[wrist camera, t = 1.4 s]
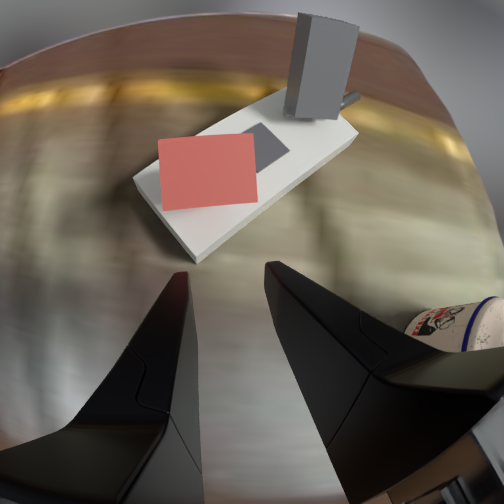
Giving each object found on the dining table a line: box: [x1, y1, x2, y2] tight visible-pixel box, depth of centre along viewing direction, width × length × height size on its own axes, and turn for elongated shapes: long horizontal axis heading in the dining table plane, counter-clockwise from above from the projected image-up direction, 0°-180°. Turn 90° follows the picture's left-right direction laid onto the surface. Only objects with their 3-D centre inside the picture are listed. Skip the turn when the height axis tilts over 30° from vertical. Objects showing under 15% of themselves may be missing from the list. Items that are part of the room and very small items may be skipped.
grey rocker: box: [283, 13, 359, 120], centre depth 20 cm, size 3×5×10 cm, turn 99°
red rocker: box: [158, 133, 258, 211], centre depth 16 cm, size 3×5×10 cm, turn 99°
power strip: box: [133, 87, 360, 264], centre depth 25 cm, size 25×8×3 cm, turn 132°
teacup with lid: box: [405, 296, 504, 352], centre depth 18 cm, size 12×9×12 cm
